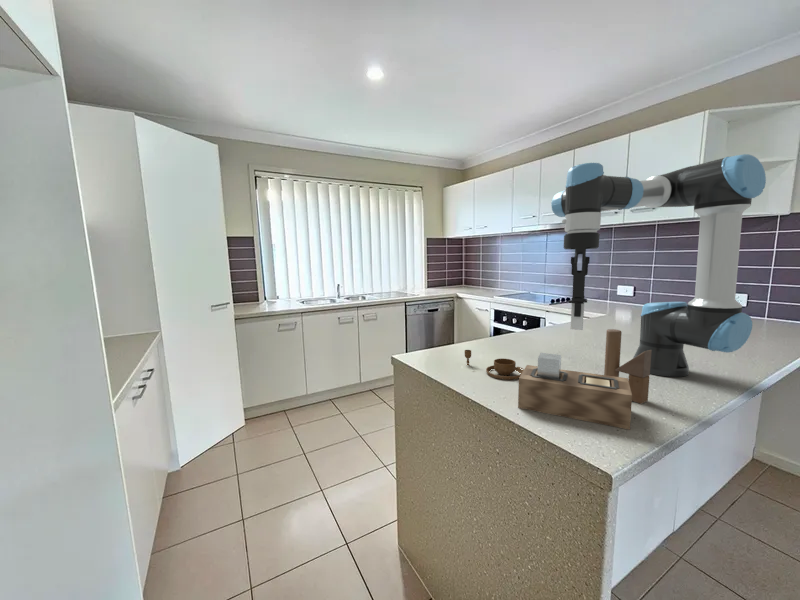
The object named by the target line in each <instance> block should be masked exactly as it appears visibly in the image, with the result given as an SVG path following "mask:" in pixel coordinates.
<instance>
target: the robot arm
mask: <svg viewBox="0 0 800 600" xmlns="http://www.w3.org/2000/svg"><path fill="white" fill-rule="evenodd" d="M766 181H767V177H766V172H765V168H764V165H763V164H762V162H761V161H760V160H759V158H757V157H756V156H754V155H752V154H746V153H744V154H737V155H732V156H726V157H722V158H719V159H715V160H711V161H708V162H703V163H698V164H695V165H692V166H691V165H690V166H686V167H682V168H680V169H675V170H674V171H670V172H667V173H663V174H659V175H658V174H657V175H654V176H653V175H652V176H650V177H648V178H646V180H639V179H637V178H633V177H629V176H613V175H605V172H604V166H603V164H601V163H600V162H586V163H581V164H577V165H573V166H571V167H570V168H569V169H568V171H567V174H566V183H565V189H564V190H562V191H559V192H557V193H555V195H553V197H552V200H551V202H550V203H551V210H552V212H553V214H554V215H555V216H557V217H559V218H565V219H562V220H561V224H564V232H565V234H564V235H563V249H564V250H575V251H574V256H571V257H570V264H571V272H570V273H571V275H572V294H571V295H572V296H571V300H568V304H571V309H570V312H571V313H570V330H578V331H584V316H585V303H588V299H585V297H586V296H585V283H586V276H587V275H588V271H589V264H590V258H591V257H590V256H587V255H586V253H587V250H596V249H598V248H599V246H600V233H599V232H598V231H600V230H601V221H602V218H601V217H602V212H609V211H616V210H619V211H621V210H630V209H633V208H639V207H640V208H641V207H644V206H645V207H646V208H649V209H656V208H680V207H682V208H683V207H684V208H685V207H693V212H694V213H695V214H697V215H698V216H699V229H698V231H699V232H698V233H699V234H698V245H697V258H696V259H697V260H696V275H695V290H694V298H693V299H691V300H690V301H688V302H687V301H663V302H662V301H660V302H659V301H658V302H647V303H645V304H643V306H642V307H641V308H642V310H641V314H640V328H639V329H640V331H639V345H638V347H637V349H636V352H635V353H634V355H633V357H632V359H633V358H635V357H636V356H638V355H640V354H641V353H643V352H645V351H648V350H652V351H651V365H650V375H656V376H662V377H673V378H675V377H676V378H679V377H681V378H682V377H686V376H688V375H689V372H690V366H689V364H688V360H687V357H686V355H685V351H684V345H686V346H689V347H690V346H691V347H696V348H700V349H706V350H708V351H711V352H721V353H733V352H736V351H738V350H739V349H742V347H743V346H744V345H745V344H747V343H746V342H747V341H748V340H749V338H750V336H751V333H752V330H753V320H752V318H751V316H750V315H749V314H748V313H747V314H746V313H745V312H743V304H741V303H740V302H739V301H737V299H736V296H737V295H736V294H737V283H738V282H737V281H738V271H739V270H738V269H739V257H740V249H741V248H740V247H741V246H740V245H741V235H742V234H741V233H742V225H743V224H742V223H743V214H744V212H745V211H746V210H748V208H751V206H752V199H756V198H757V197H759V196H760V195H761V194H763V192H764V189H765V187H766V184H767V183H766Z"/></svg>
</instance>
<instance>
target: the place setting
mask: <svg viewBox="0 0 800 600" xmlns="http://www.w3.org/2000/svg"><path fill="white" fill-rule="evenodd" d="M464 358H465V359H466V361H465V362H466V364H467V365H469V366H470V358H472V349H465V350H464ZM467 365H466V366H467ZM520 368H521V369H523V370H524V369H525V368H523V367H521V366H516V361H515V360H513V359H510V358H496V359H494V360H493V365H490V366H487V367H486V368H485V369H486V370H485V371H486V374H487V375H488V376H490V377H491V378H493V377H494V379H497V380H502V379H504V381H514V380H513V379H515V380H519V379H518V378H519V377H520V375H521V374H522V372H523V370H521V369H520ZM491 369H495V370H494V371H495V372H497V373H498V374H496V373H495V374H494V373H491V371H490V370H491ZM515 370H516V371H518V372H519V373H521V374H519V373H518V375H512V376H510V374H513V373H515ZM489 371H490V372H489ZM504 375H505V376H504ZM507 375H508V376H507Z"/></svg>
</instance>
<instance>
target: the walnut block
mask: <svg viewBox="0 0 800 600" xmlns="http://www.w3.org/2000/svg"><path fill="white" fill-rule="evenodd" d="M523 369H524V370H523V372H522V374H521V375H520V374H519V375H520V377H519V379H518V397H517V399H518V400H517V402H518V403H517V408H519V409H523V410H528V411H532V412H533V411H534V412H538V413H543V414H547V415H548V414H549V415H555V416H559V417H564V418H568V419H572V420H573V419H574V420H579V421H583V422H589V423H594V424H600V425H603V426H608V427H609V426H610V427H613V428H614V427H615V428H620V429H625V430H631V420H632V419H631V417H632V402H633V401H632V393H631V389H630V385H629V382H628V379H629V377H628V378H627V377H620V376H619V377H614V376H607V375H604V374H598V373H591V372H583V371H576V370H575V371H574V370H568V369H562V368H561V373H560V379H555V378H548V377H541V376H538V365H537V366H536V365H531V364H526V366H525V367H524V368H523ZM586 377H588V378H595V379H603V380H609V382H610V387H609V386H602V385H595V384H589V383H586Z"/></svg>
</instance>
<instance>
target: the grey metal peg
mask: <svg viewBox="0 0 800 600" xmlns="http://www.w3.org/2000/svg"><path fill="white" fill-rule="evenodd" d="M561 365H562V354H557V353H555V354H554V353H547V352H546V353H545V352H540V354H539V355H538V357H537V366H538V376H541V377H548V378H555V379H560V373H561V369H562V366H561Z"/></svg>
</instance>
